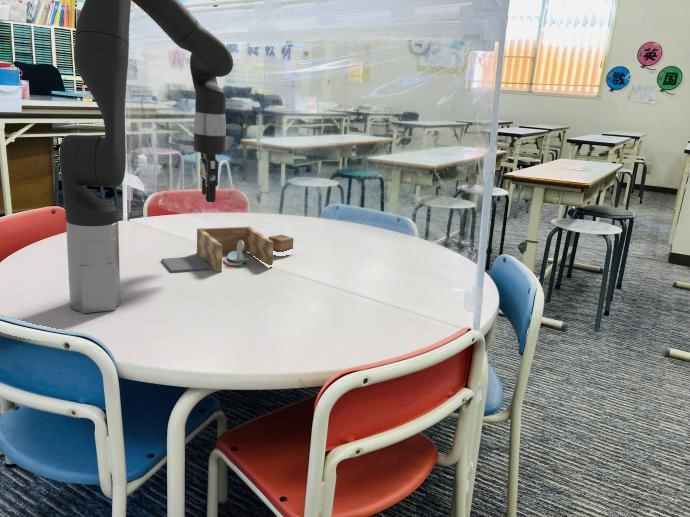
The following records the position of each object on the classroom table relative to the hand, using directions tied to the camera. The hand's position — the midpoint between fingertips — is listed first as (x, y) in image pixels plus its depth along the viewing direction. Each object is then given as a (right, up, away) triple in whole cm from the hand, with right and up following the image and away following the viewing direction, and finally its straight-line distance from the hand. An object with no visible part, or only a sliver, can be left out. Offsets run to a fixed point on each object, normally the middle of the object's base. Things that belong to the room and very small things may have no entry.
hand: (208, 198), depth 137 cm
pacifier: (+5, -17, +8) cm, 19 cm away
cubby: (+4, -16, +10) cm, 19 cm away
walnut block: (+16, -14, +20) cm, 29 cm away
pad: (-6, -17, +3) cm, 18 cm away
